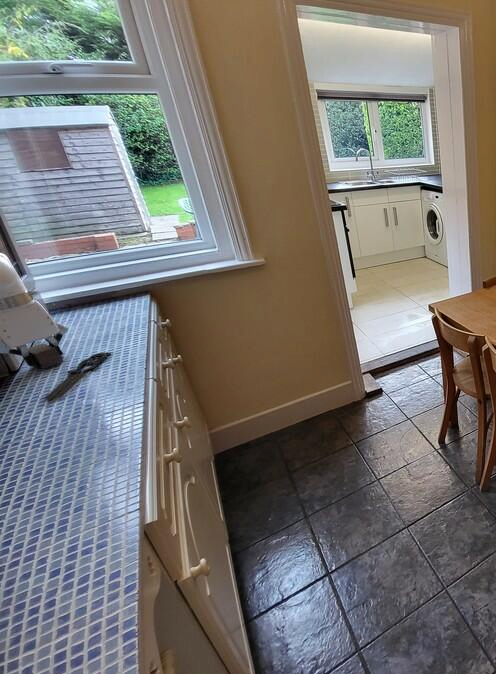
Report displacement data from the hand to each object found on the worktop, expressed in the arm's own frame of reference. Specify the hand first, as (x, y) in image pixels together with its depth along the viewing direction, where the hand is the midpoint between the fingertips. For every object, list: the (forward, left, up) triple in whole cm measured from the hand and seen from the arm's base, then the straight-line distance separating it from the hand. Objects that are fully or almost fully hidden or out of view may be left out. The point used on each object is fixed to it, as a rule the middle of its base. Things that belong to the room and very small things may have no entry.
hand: (47, 362), depth 113 cm
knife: (-1, -19, -1) cm, 19 cm away
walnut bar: (0, 0, 0) cm, 0 cm away
